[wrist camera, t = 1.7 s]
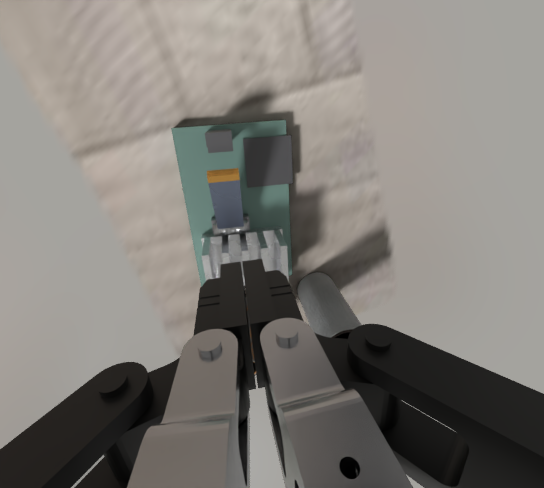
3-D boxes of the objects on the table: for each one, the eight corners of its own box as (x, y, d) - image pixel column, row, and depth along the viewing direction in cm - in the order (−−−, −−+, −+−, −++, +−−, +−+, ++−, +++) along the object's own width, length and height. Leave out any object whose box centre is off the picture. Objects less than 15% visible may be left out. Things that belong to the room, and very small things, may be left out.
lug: (207, 130, 26) (204, 133, 22) (230, 129, 26) (231, 131, 22) (210, 149, 26) (207, 154, 23) (232, 147, 27) (233, 152, 23)
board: (173, 127, 26) (171, 128, 25) (287, 119, 27) (290, 119, 26) (202, 281, 33) (201, 287, 32) (293, 269, 34) (295, 275, 33)
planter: (339, 291, 36) (378, 353, 27) (307, 310, 37) (335, 376, 27) (323, 265, 34) (360, 321, 25) (290, 284, 35) (314, 346, 25)
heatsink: (199, 218, 29) (194, 238, 24) (279, 209, 30) (289, 227, 25) (210, 285, 32) (208, 313, 27) (283, 276, 33) (292, 301, 28)
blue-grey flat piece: (201, 169, 22) (201, 179, 22) (243, 165, 23) (244, 175, 22) (214, 229, 28) (215, 239, 28) (247, 225, 29) (249, 235, 28)
